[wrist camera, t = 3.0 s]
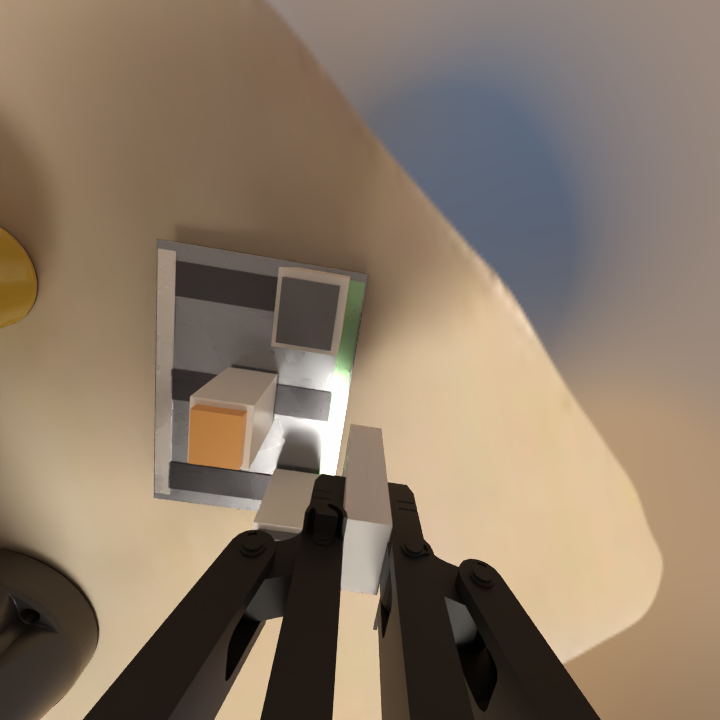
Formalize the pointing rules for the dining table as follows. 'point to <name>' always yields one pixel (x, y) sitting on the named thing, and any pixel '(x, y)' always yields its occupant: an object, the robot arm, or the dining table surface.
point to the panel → (244, 351)
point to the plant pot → (15, 280)
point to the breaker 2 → (309, 310)
